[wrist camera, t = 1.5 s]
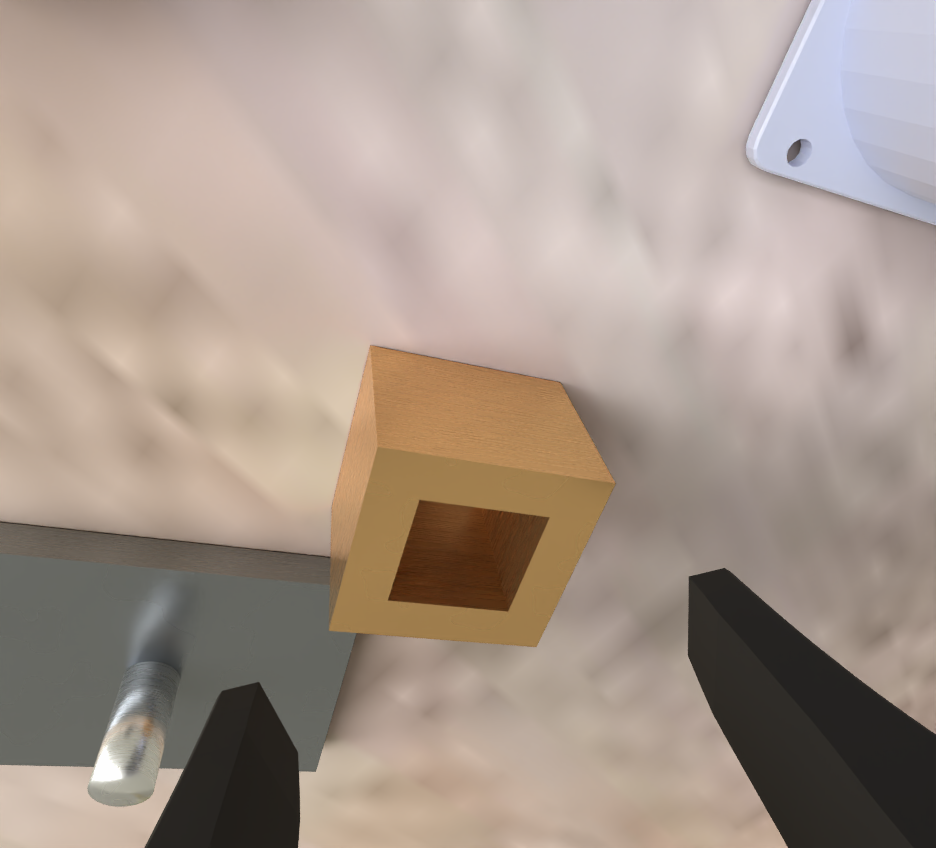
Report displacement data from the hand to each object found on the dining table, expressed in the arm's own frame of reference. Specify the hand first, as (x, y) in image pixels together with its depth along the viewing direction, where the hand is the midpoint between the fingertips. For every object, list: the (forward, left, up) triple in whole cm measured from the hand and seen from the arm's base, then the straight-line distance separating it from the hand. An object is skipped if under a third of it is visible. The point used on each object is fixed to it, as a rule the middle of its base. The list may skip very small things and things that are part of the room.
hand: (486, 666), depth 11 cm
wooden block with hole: (0, 0, -7) cm, 7 cm away
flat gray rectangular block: (+6, +8, -7) cm, 12 cm away
